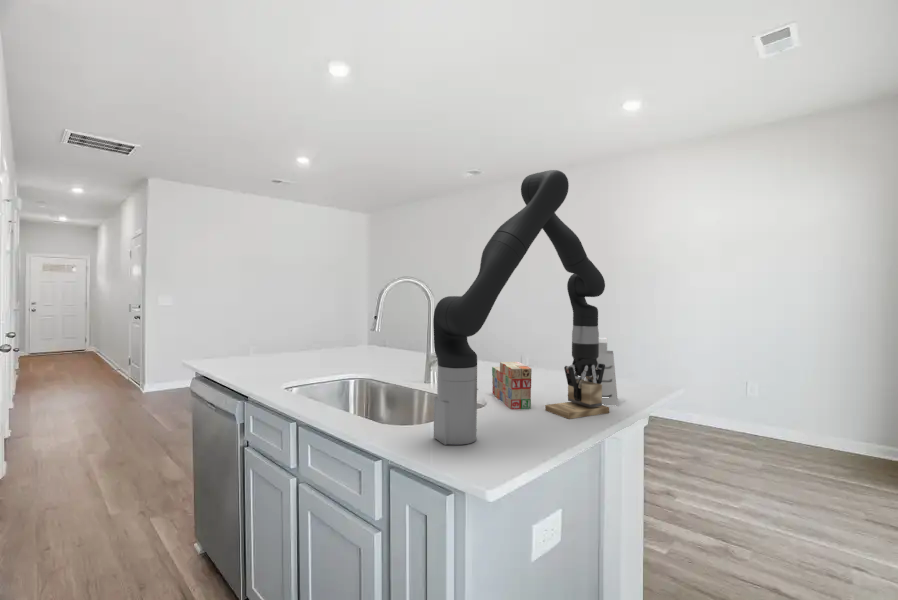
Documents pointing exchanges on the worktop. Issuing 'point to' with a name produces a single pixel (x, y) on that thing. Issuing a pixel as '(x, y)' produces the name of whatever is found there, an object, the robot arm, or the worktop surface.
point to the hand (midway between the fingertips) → (584, 399)
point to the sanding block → (587, 394)
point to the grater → (607, 374)
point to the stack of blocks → (512, 384)
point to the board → (575, 410)
